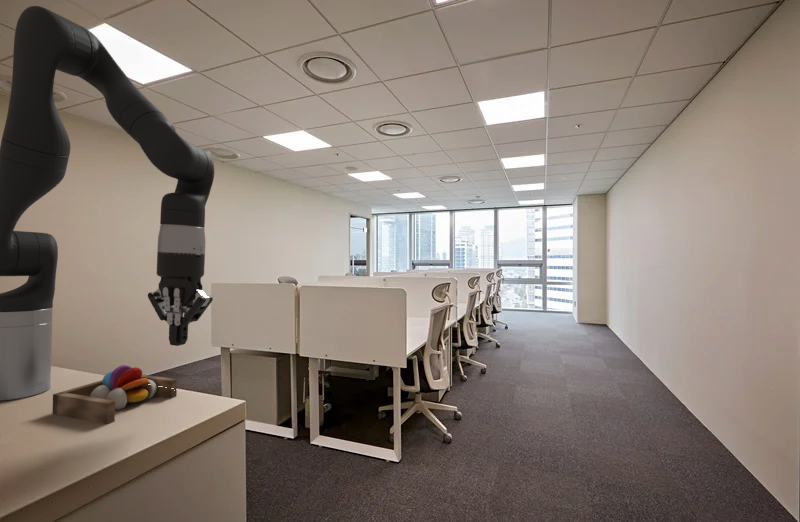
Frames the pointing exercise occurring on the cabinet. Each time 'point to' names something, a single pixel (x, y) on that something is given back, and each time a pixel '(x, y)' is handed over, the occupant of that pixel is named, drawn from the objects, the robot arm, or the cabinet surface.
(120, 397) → the rainbow disc stack
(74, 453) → the cabinet surface
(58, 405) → the bay
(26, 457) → the cabinet surface
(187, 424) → the cabinet surface
